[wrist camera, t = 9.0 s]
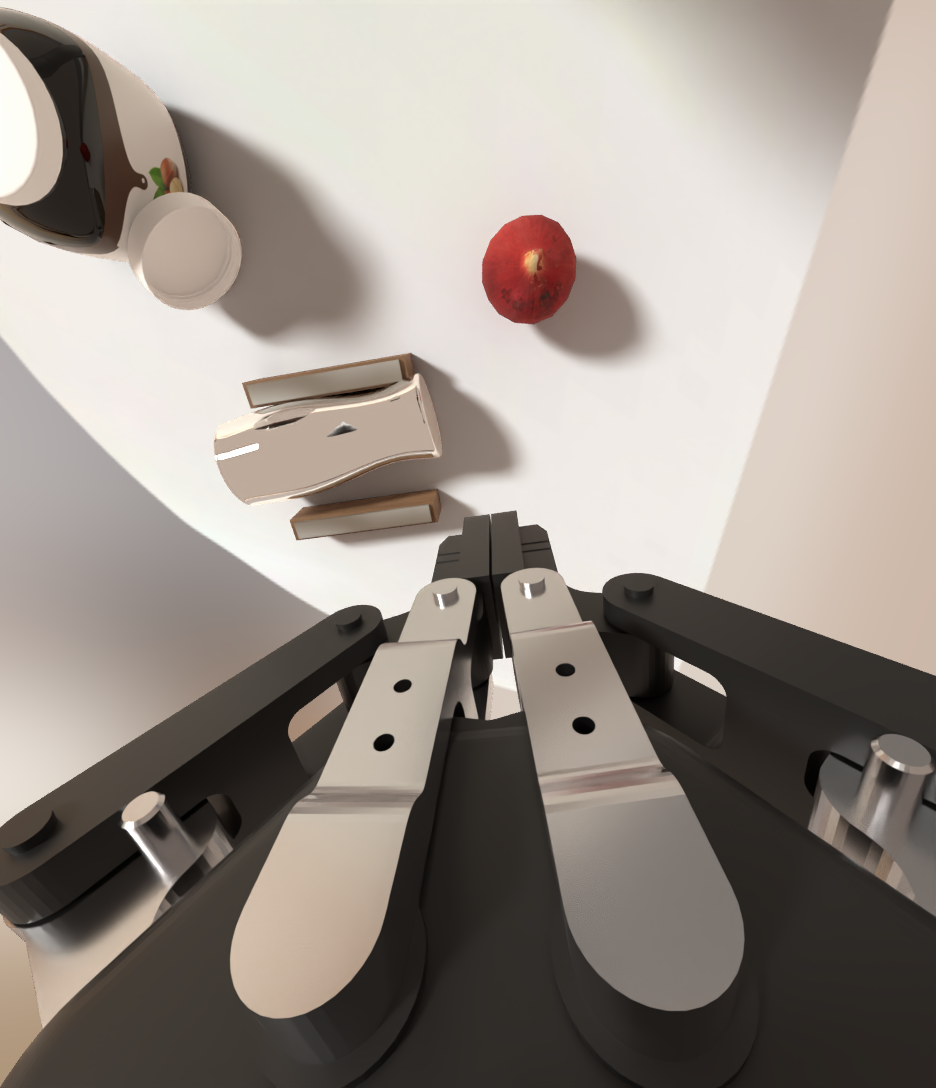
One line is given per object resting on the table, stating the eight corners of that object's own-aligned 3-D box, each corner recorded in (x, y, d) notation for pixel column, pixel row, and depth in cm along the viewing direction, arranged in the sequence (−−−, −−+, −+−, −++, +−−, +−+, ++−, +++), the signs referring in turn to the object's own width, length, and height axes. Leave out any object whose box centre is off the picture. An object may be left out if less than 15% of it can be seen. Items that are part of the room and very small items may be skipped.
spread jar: (70, 64, 28) (-176, -89, 18) (253, 116, 29) (120, -2, 19) (92, 281, 34) (-89, 261, 23) (248, 321, 34) (140, 319, 24)
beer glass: (409, 347, 30) (204, 404, 32) (430, 447, 30) (219, 500, 31) (431, 390, 37) (261, 435, 39) (449, 472, 37) (275, 515, 38)
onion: (576, 303, 33) (601, 297, 26) (500, 337, 34) (503, 340, 27) (551, 211, 31) (570, 176, 23) (470, 251, 32) (465, 229, 24)
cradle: (260, 378, 36) (240, 383, 33) (410, 352, 35) (403, 355, 32) (309, 526, 41) (295, 541, 38) (441, 508, 40) (437, 523, 37)
